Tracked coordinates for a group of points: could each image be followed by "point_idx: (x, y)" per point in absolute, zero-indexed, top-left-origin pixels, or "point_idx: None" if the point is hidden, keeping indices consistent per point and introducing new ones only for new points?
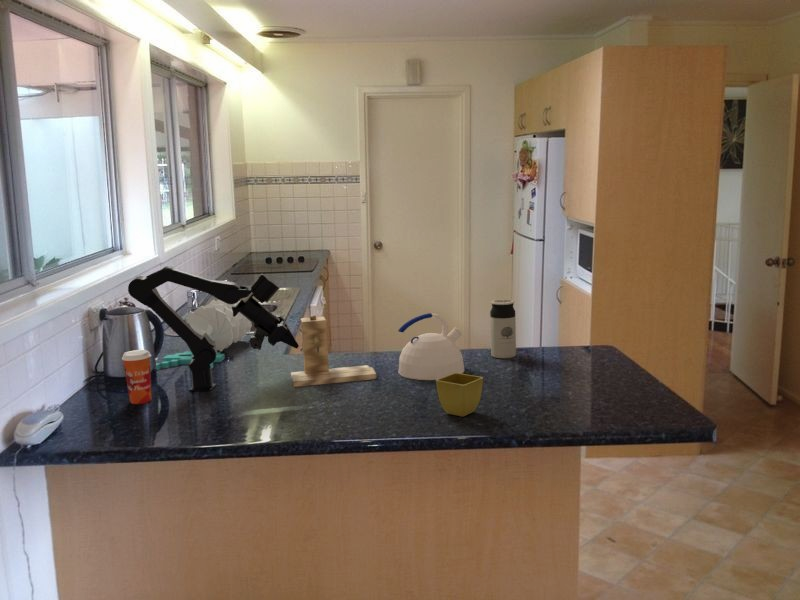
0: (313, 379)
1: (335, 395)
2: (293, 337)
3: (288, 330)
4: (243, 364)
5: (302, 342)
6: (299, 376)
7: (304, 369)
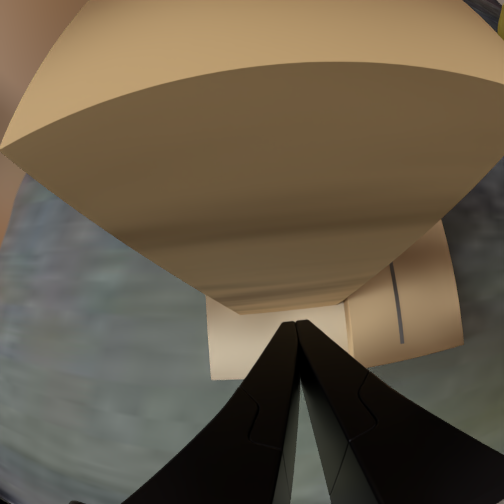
0: (448, 257)
1: (497, 197)
2: (368, 371)
3: (474, 451)
4: (43, 494)
5: (231, 282)
6: (395, 327)
7: (276, 308)
